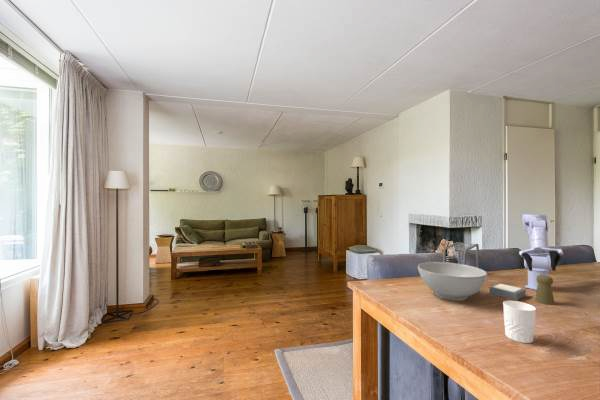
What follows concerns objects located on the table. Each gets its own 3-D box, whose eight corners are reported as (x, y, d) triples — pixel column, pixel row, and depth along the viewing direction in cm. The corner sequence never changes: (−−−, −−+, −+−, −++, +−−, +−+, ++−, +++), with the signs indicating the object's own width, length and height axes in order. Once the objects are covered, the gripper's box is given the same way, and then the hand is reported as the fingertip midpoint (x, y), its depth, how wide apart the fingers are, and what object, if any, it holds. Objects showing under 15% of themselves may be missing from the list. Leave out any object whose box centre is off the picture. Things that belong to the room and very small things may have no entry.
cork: (558, 305, 109) (558, 278, 109) (541, 304, 110) (541, 277, 110) (547, 300, 114) (547, 274, 115) (531, 298, 116) (531, 273, 116)
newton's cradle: (465, 285, 134) (465, 250, 134) (442, 281, 141) (443, 247, 141) (478, 273, 156) (478, 243, 156) (458, 270, 163) (458, 241, 163)
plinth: (499, 289, 128) (499, 282, 128) (525, 296, 119) (525, 288, 119) (489, 293, 122) (489, 286, 122) (516, 300, 114) (516, 292, 114)
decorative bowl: (492, 295, 120) (492, 268, 120) (480, 313, 100) (480, 281, 100) (428, 282, 138) (428, 259, 138) (408, 296, 119) (408, 268, 119)
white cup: (496, 332, 86) (496, 300, 86) (519, 331, 87) (519, 300, 87) (518, 345, 79) (518, 311, 79) (543, 344, 79) (543, 310, 79)
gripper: (516, 239, 126) (516, 265, 119) (557, 236, 115) (560, 264, 108) (522, 247, 129) (523, 273, 122) (563, 245, 117) (567, 273, 110)
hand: (541, 269), depth 115 cm, fingers open, 7 cm apart
